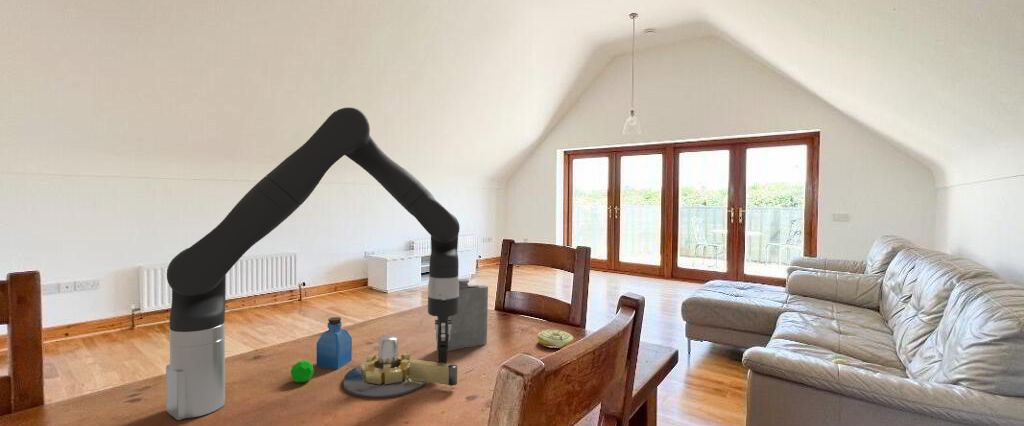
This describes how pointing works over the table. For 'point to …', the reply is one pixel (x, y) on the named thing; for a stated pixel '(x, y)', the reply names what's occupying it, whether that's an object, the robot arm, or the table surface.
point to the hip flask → (469, 317)
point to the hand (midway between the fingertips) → (442, 363)
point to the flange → (386, 356)
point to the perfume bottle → (334, 346)
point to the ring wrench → (408, 371)
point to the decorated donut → (555, 338)
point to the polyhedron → (302, 371)
